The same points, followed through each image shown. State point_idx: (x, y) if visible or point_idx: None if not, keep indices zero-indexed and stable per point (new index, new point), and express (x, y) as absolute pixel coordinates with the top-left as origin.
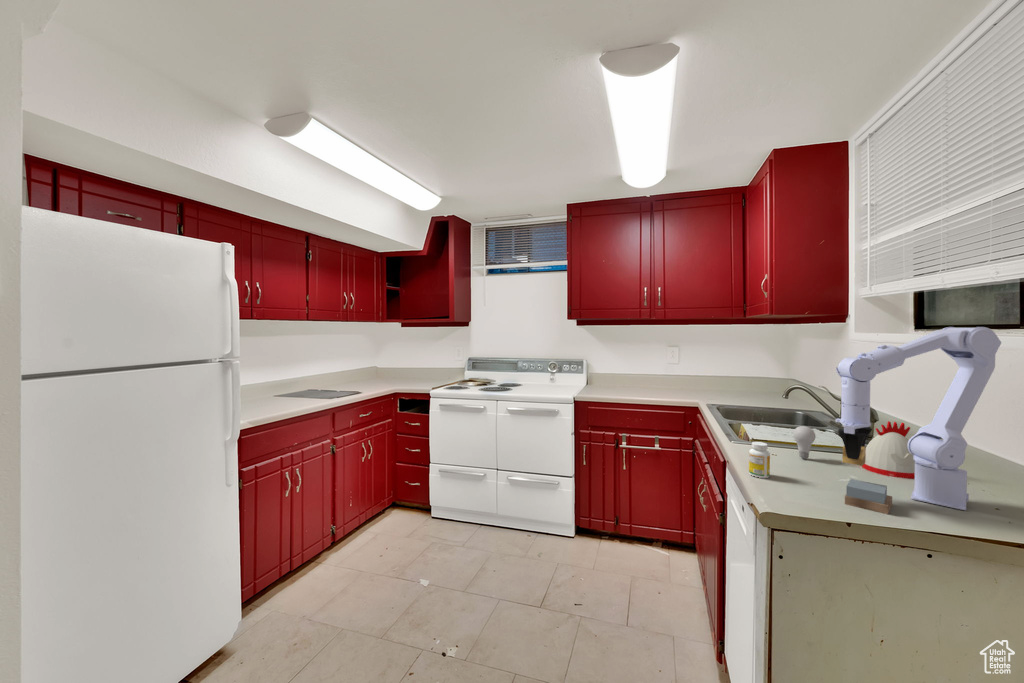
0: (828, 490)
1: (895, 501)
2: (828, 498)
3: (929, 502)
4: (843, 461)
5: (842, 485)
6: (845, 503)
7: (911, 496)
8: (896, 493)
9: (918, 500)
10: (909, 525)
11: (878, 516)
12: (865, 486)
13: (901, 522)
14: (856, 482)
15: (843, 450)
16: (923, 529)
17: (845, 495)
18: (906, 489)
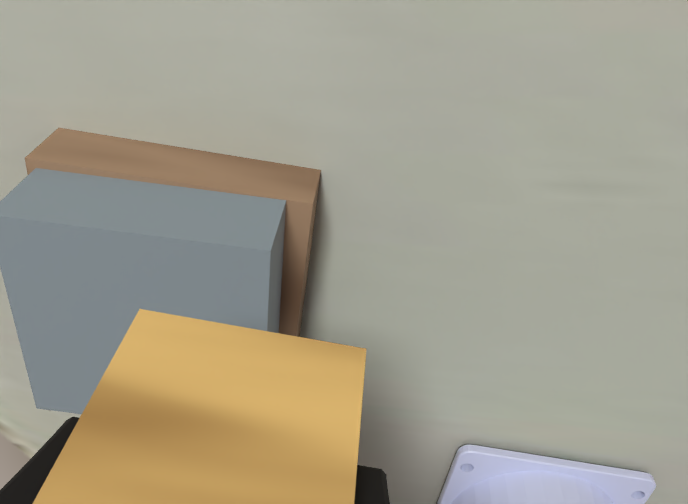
0: (331, 9)
1: (371, 378)
2: (94, 15)
3: (441, 494)
4: (135, 326)
5: (569, 119)
6: (57, 135)
7: (482, 454)
8: (552, 399)
9: (453, 464)
10: (4, 383)
11: (3, 285)
12: (114, 331)
13: (15, 362)
14: (180, 284)
15: (58, 465)
16: (5, 417)
17: (42, 162)
18: (677, 447)
